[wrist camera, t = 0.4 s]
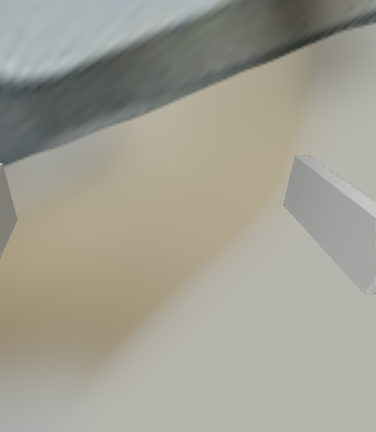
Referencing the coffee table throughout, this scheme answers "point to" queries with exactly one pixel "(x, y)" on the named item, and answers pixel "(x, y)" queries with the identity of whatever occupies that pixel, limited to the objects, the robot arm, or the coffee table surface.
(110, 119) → the coffee table surface
